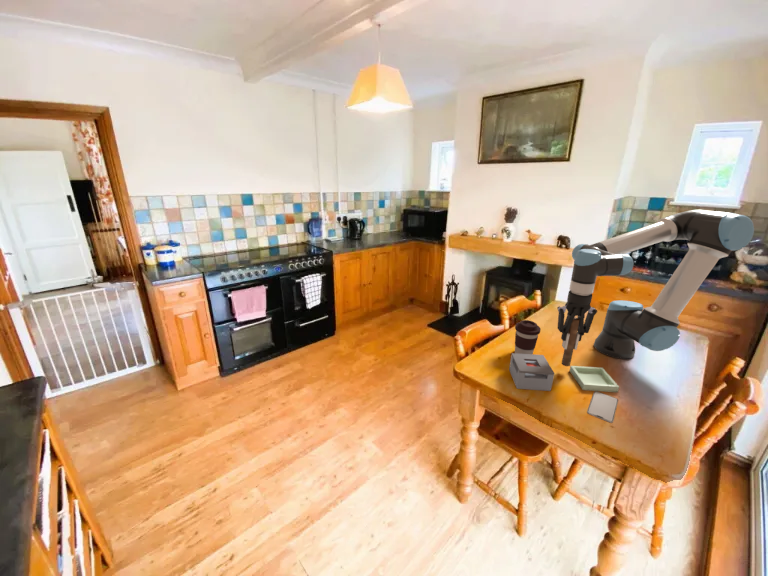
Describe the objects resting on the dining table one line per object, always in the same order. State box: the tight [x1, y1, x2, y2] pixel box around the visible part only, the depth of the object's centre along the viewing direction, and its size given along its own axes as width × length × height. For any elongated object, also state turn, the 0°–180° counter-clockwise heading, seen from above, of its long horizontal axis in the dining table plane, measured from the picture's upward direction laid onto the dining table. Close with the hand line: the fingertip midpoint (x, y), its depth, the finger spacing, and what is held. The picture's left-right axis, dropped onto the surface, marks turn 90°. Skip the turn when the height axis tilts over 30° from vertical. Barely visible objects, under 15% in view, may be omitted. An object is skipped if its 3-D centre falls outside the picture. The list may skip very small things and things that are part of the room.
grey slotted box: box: [508, 352, 555, 392], centre depth 124 cm, size 12×12×8 cm
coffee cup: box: [514, 319, 541, 354], centre depth 140 cm, size 10×10×15 cm
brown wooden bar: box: [561, 317, 580, 367], centre depth 125 cm, size 3×3×20 cm
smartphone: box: [586, 391, 619, 424], centre depth 111 cm, size 7×1×15 cm
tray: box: [569, 365, 620, 393], centre depth 124 cm, size 12×12×2 cm
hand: (569, 347), depth 126 cm, fingers closed on brown wooden bar, 3 cm apart
